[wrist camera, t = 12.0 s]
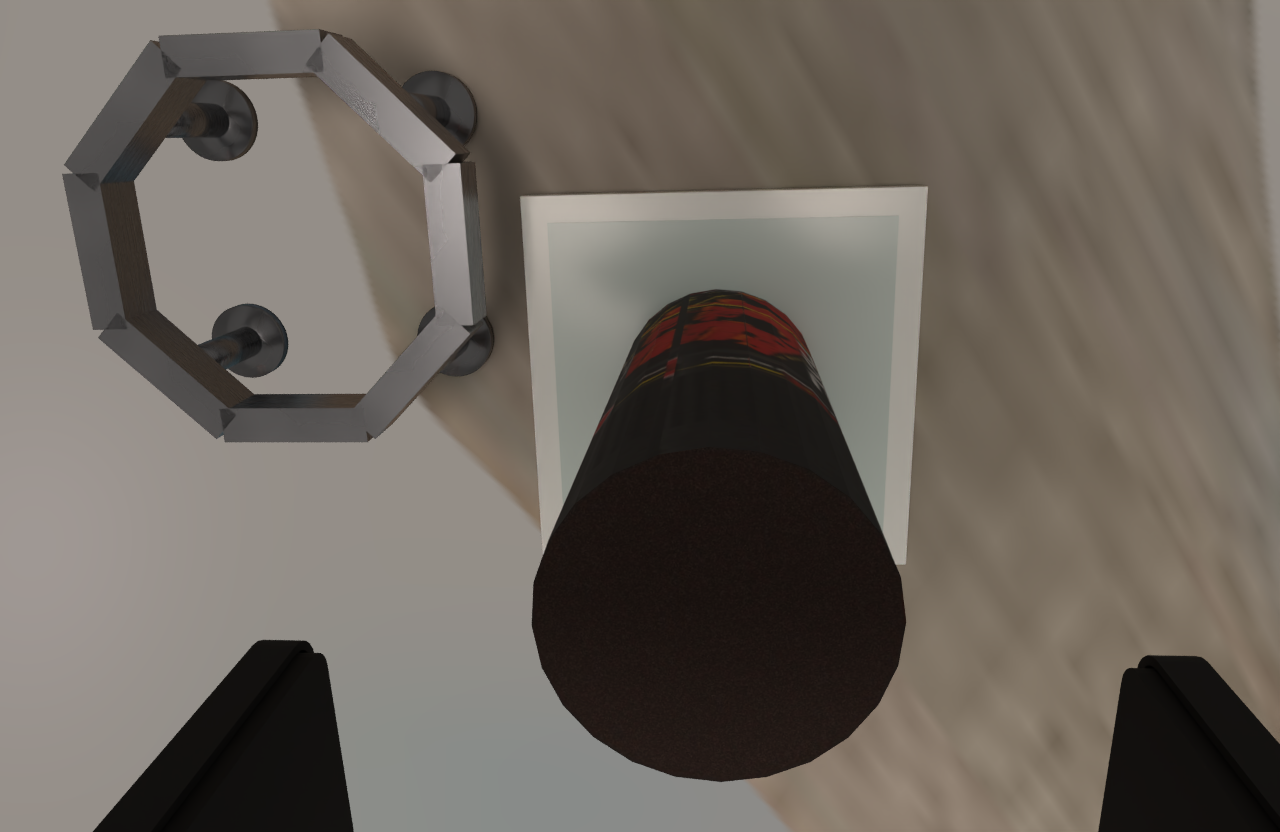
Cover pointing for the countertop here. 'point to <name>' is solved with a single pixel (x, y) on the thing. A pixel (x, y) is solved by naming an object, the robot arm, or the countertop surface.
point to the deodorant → (718, 556)
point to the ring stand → (250, 334)
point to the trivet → (739, 261)
